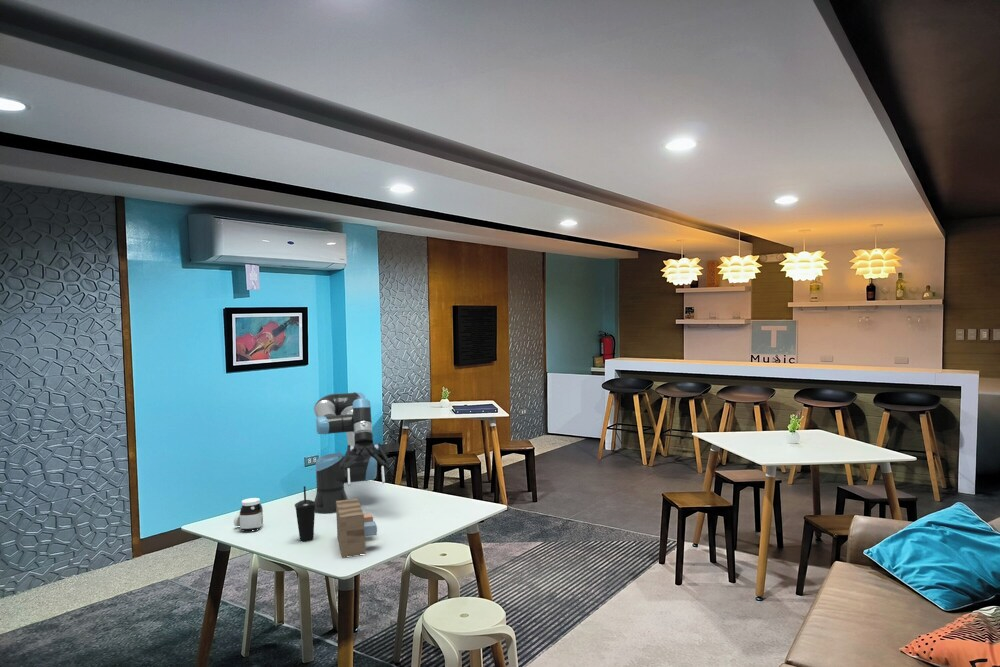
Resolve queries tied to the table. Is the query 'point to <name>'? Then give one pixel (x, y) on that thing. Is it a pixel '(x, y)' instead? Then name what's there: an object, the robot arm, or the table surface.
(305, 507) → the drinking cup
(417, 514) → the table surface
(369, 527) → the slate key
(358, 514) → the brown wooden block
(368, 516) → the terracotta key
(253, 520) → the spread jar
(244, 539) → the table surface
